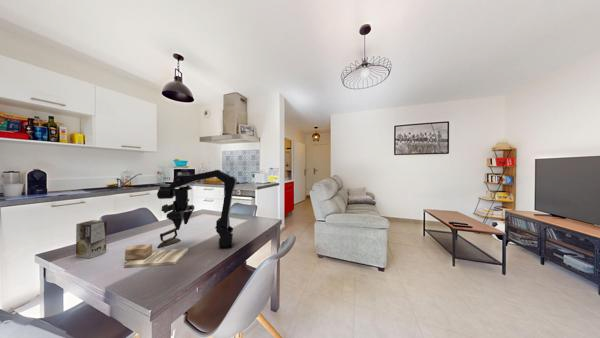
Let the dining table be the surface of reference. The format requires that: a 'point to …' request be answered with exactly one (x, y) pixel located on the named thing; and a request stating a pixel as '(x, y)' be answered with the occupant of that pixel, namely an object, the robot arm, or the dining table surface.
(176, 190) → the robot arm
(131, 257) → the block
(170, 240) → the clothes iron
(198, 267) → the dining table surface
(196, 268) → the dining table surface
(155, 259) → the birch board
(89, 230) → the coffee box
